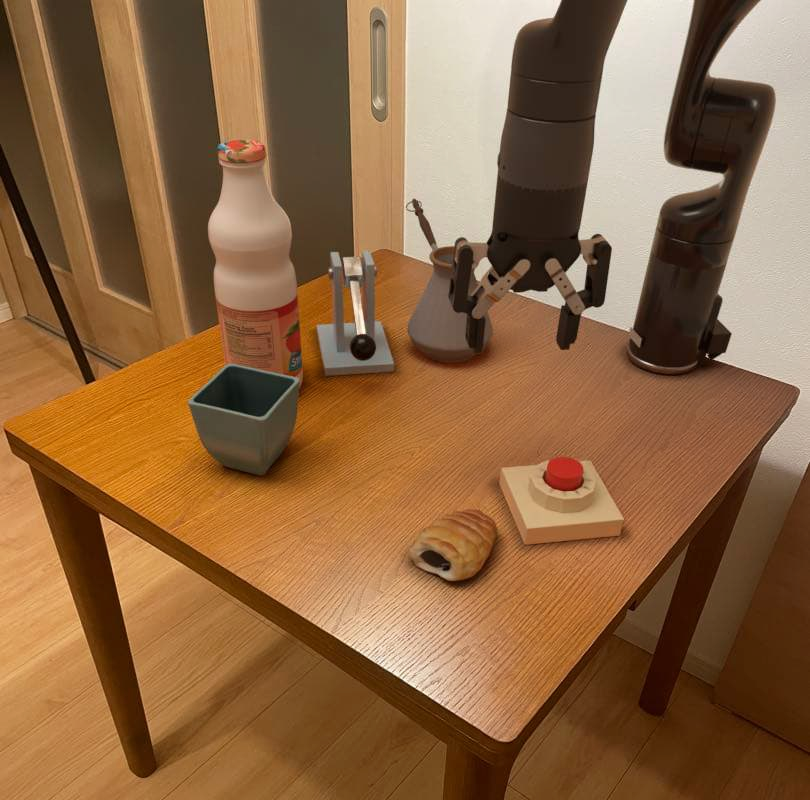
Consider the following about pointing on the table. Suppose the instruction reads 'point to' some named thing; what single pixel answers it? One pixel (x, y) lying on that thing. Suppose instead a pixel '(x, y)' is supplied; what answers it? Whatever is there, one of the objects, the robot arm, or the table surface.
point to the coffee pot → (441, 307)
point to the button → (564, 474)
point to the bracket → (352, 326)
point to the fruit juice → (254, 266)
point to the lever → (357, 309)
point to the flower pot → (246, 416)
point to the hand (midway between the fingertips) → (519, 348)
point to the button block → (559, 506)
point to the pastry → (455, 544)
